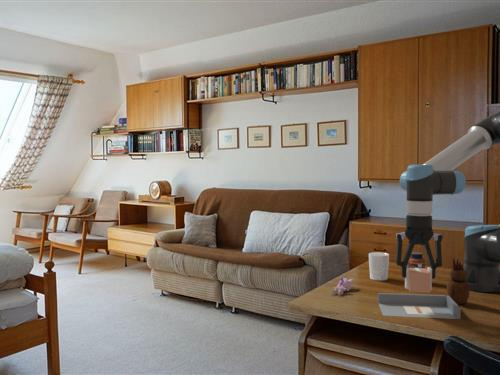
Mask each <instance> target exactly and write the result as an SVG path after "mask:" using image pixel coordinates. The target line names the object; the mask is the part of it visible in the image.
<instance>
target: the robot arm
mask: <svg viewBox="0 0 500 375" xmlns="http://www.w3.org/2000/svg"><path fill="white" fill-rule="evenodd" d="M496 145H500V111H497V112H495V113H492V114H490V115H489V116H487V117H485V118H483V119H482V120H480V121H479V122H477V123H475V124H474V125H472V126H471V127H470V128H469V129H468V130H467V133H466V134H465V135H462V137H460V138H458V139H457V140H456V141H454V142H453V143H451V144H450V145H448V147H446V148H444V149H443V150H442V151H439V153H437V154H436V155H434V156H432V158H430V159H428V160H427V161H425V162H424V163H422V164H409V165H408V166H407V169H406V170H405V171H404V172H402V173H401V175H400V177H399V185H400V187H401V189H402V190H404V191H406V208H405V209H406V211H405V212H406V214H407V215H406V217H405V218H406V219H405V226H406V227H405V230H404V231H403V232H396V233H395V237H396V253H395V264H396V266H399V267H401V277H402V278H404V288H405V290H408V289H409V259H410V258H411V257H412V256H411V254H412V252H413V251H414V248H415V246H417V245H421V246H423V248H424V251H425V254H426V258H427V260H428V264H429V267H428V266H427V268H426V269H427V270H428V271H429V272H430V273H431V283H430V291H433V290H432V288H433V286H432V285H433V280H435V279H436V270H437V268H441V267H442V266H443V258H442V256H443V255H442V253H443V252H442V241H443V238H444V237H443V235H442V234H440V233H435V232H434V230H433V216H432V214H433V197H434V195H437V196H438V195H442V196H443V195H451V196H453V195H458V194H461V193H462V192H463V191H464V190H465V188H466V182H467V181H466V176H465V175H464V173H462V172H461V171H458V170H455V169H456V168H458V167H459V166H460V165H462V164H463V163H465V162H466V161H468V160H469V159H470V158H472V157H473V156H475V155H476V154H478V153H479V152H481V151H485V150H489V149H490V148H491V147H493V146H496ZM464 230H465V231H464V236H463V238H464V243H463V244H464V246H463V247H464V249H463V250H464V251H463V252H464V264H463V268H464V270H465V271H466V273H467V277H466V279H465V280H464V281H467V282H468V284H469V286H470V291H474V292H479V293H480V292H481V293H499V292H500V223H498V224H483V225H482V224H480V225H469V226H467V227H466V228H465V229H464ZM405 237H406V238H407V240H408V243H407V246H406V250H405V251H404V252H405V253H404V256H403V258H402V253H403V240H404V239H405ZM432 238H433V240H434V249H435V250H434V251H435V252H434V253H435V260H434V256H433V253H432V249H431V246H430V240H431V239H432Z"/></svg>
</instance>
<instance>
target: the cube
mask: <svg viewBox="0 0 500 375" xmlns="http://www.w3.org/2000/svg"><path fill="white" fill-rule="evenodd" d="M408 268H409V267H408ZM430 283H431V273H430V272H429V271H428V270H427V268H426V267H425V268H409V289H407V290H408V292H410V293H411V292H412V293H431V290H430Z"/></svg>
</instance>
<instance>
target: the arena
mask: <svg viewBox="0 0 500 375" xmlns="http://www.w3.org/2000/svg"><path fill="white" fill-rule="evenodd" d="M377 304H378V306H379V309H380V311H381V315H382V316H384V317H403V318H404V317H405V318H427V319H429V318H430V319H449V320H450V319H452V320H453V319H455V320H461V314H462V313H461V309H462V308H461V307H460V306H459V304H456V303H455V302H454V301H453V300H452V299H451V297H450V296H449V295H448V294H446V295H445V294H418V293H394V292H393V293H392V292H391V293H388V292H378V293H377Z"/></svg>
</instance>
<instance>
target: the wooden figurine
mask: <svg viewBox="0 0 500 375" xmlns="http://www.w3.org/2000/svg"><path fill="white" fill-rule="evenodd" d="M461 263H462V262H460V261H459V259H458V258H457V259H456V260H455V258H454V257H453V258H452V269H451V270H450V271H449V277H450V279H449V280H448V282H446V283H447V284H446V293H447V294H446V295H449V296H450V297H451V299H452V300H453V301H454V302H455V303H456V304H457V305H463V304H466V303H467V302H468V300H469V297H470V291H471V290H470V286H469V284H468V282H467V281H464V280H465V279H466V277H467V273H466V271H465V270H464V268H463V267H464V264H463V263H462V264H461Z"/></svg>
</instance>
